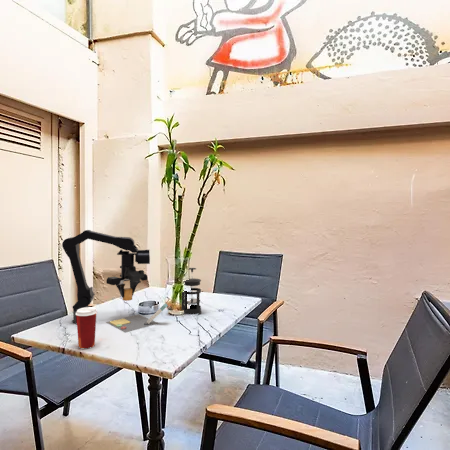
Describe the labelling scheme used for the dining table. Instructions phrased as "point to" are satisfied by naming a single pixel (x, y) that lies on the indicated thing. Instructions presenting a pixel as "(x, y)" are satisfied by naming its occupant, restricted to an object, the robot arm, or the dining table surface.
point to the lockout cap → (127, 294)
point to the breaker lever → (157, 313)
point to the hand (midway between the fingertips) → (127, 296)
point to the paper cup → (86, 326)
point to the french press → (193, 308)
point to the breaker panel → (131, 323)
